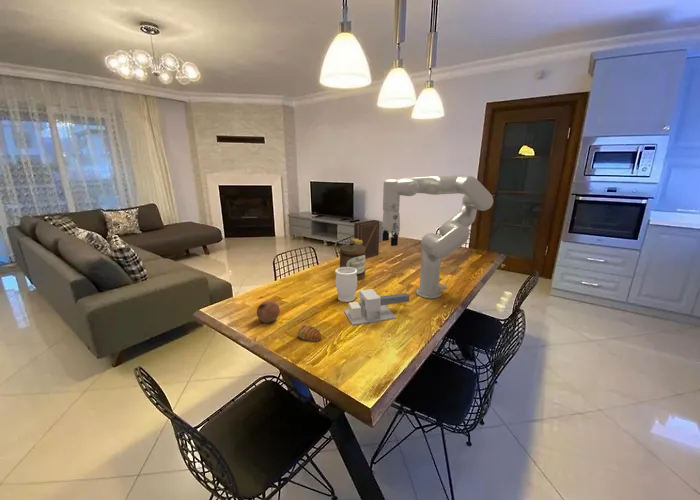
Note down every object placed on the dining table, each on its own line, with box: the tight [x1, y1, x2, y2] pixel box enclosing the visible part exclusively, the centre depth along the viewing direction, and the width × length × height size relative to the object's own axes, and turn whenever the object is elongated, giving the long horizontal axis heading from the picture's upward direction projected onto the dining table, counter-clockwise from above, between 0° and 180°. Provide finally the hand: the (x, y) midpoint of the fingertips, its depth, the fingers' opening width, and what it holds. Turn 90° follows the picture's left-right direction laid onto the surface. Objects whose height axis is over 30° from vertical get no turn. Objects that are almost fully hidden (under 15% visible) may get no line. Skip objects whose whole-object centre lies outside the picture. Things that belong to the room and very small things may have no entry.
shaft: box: [379, 292, 410, 306], centre depth 136 cm, size 20×3×3 cm, turn 107°
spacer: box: [348, 301, 361, 319], centre depth 133 cm, size 5×6×4 cm
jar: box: [335, 267, 358, 303], centre depth 150 cm, size 11×10×15 cm
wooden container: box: [339, 239, 366, 282], centre depth 178 cm, size 15×15×22 cm
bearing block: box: [343, 288, 397, 326], centre depth 134 cm, size 20×13×10 cm, turn 107°
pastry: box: [297, 324, 323, 342], centre depth 118 cm, size 9×7×4 cm
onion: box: [256, 300, 281, 324], centre depth 130 cm, size 10×9×10 cm
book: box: [351, 219, 380, 260], centre depth 214 cm, size 22×8×25 cm, turn 130°
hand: (389, 243), depth 145 cm, fingers open, 9 cm apart
